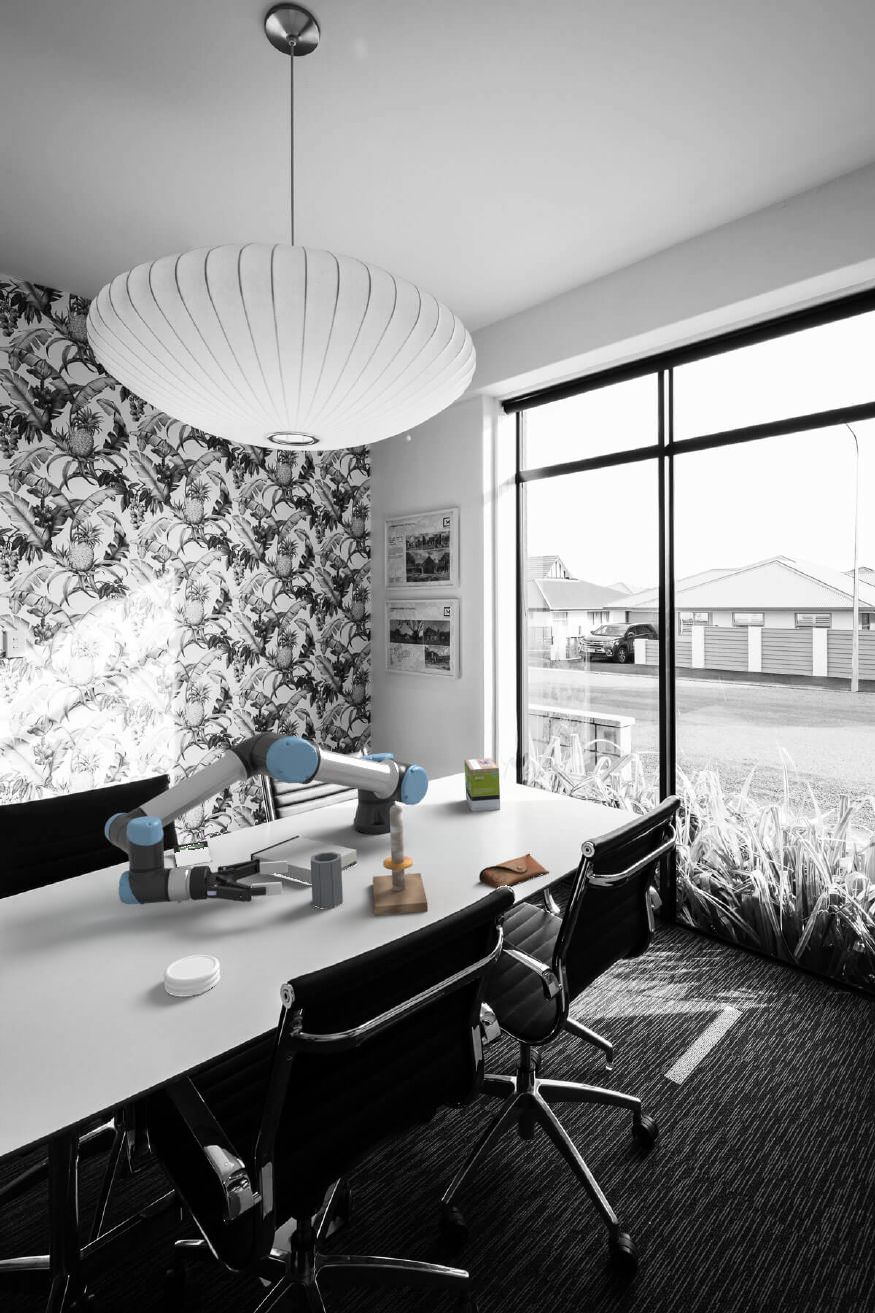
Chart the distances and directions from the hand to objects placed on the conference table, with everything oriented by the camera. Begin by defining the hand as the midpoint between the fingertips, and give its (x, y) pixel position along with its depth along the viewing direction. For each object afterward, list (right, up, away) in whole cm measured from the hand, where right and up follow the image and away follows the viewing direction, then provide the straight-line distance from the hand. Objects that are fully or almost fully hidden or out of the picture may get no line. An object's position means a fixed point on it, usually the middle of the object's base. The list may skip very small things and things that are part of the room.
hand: (284, 877), depth 169 cm
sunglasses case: (+56, -5, +14) cm, 58 cm away
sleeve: (+10, -7, +2) cm, 12 cm away
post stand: (+27, -6, +4) cm, 28 cm away
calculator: (-34, -6, +35) cm, 49 cm away
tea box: (+52, 0, +79) cm, 95 cm away
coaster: (-10, -10, -33) cm, 36 cm away
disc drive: (0, -6, +25) cm, 26 cm away
